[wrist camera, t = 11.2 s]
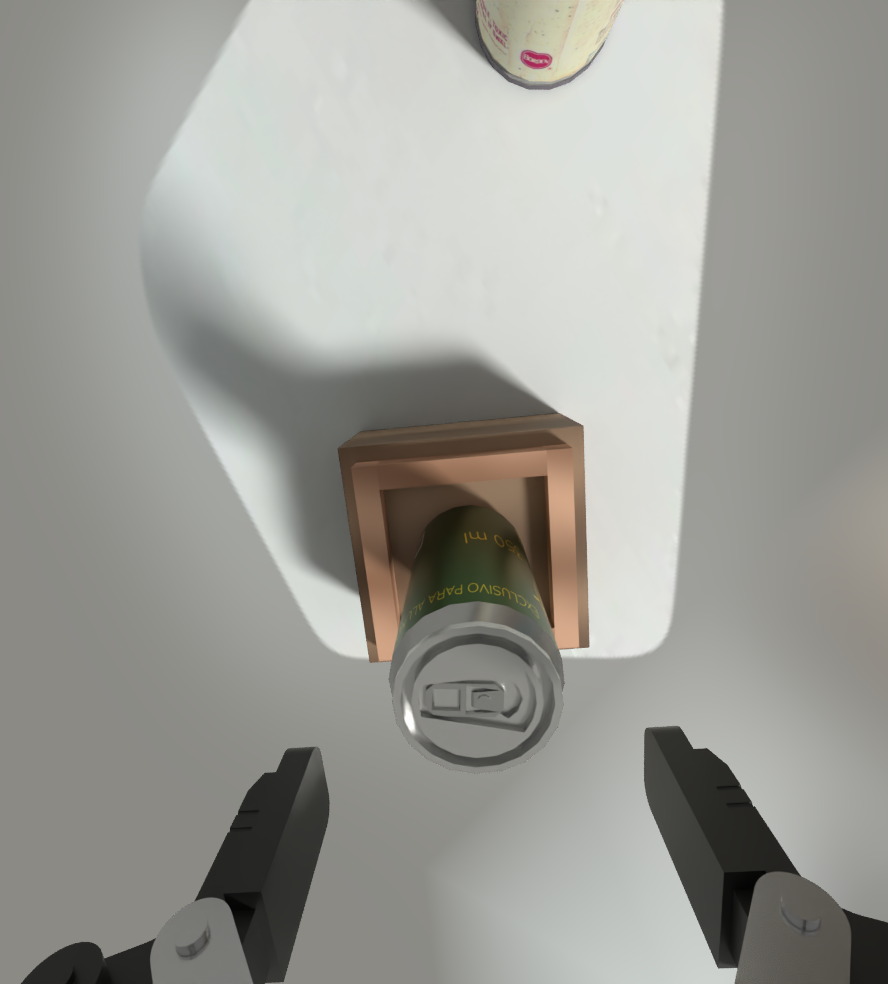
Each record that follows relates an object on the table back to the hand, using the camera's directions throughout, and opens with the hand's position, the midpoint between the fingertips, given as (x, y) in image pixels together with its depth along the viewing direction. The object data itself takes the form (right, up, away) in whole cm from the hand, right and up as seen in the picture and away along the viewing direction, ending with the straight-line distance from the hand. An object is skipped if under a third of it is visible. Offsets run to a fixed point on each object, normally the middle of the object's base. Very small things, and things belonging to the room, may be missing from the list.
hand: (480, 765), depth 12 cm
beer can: (0, +4, +14) cm, 14 cm away
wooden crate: (+1, +5, +20) cm, 20 cm away
